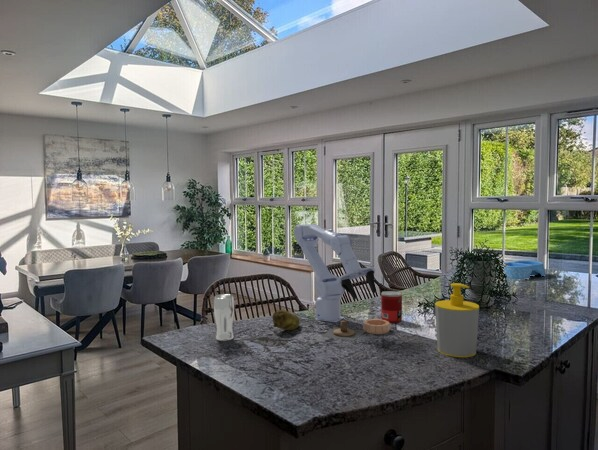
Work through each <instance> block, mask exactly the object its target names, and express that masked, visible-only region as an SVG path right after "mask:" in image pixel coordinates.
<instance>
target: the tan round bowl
mask: <svg viewBox="0 0 598 450" xmlns="http://www.w3.org/2000/svg"><path fill="white" fill-rule="evenodd" d="M390 324H391V323H389V322H388V321H386V320H382V318H369V319H365V320H364V321H363V328H362V329H363V331H366V332H365V333H369V334H375V335H381V334H382V335H383V334H387V333H389V332H390V331H391V330H390V329H391V328H390V327H391V325H390Z"/></svg>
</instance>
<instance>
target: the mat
mask: <svg viewBox="0 0 598 450" xmlns="http://www.w3.org/2000/svg"><path fill="white" fill-rule="evenodd" d="M339 328H340V327H339V326H335V327H333V328H331V329H329V331H327V332H326V333H324V334H322V335H321V337H323V338H324V337H325V338H331V339H332V338H333V339H337V340H346V341H351V342H354V341H355V340H357V339H358V338H360V337H361V336H362V335H363V334H365V333H367V332H366V331H364V330H362V329H353V328H351V329H352V330H354V331H355V335H353V336H349V337H341V336H336V335H334V334H333V331H334V330H335V329H339Z"/></svg>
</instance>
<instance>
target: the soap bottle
mask: <svg viewBox="0 0 598 450" xmlns="http://www.w3.org/2000/svg"><path fill="white" fill-rule="evenodd" d="M450 287H452V293H451V294H450V296H449V297H450V299H444V300H438V301H436V302H435V304H434V307H435V309H434V310H435V312H434V313H435V324H436V325H435V328H436V343H437V344H436V346H437V351H438V352H439V353H441V354H443V355H446V356H448V357H454V358H470V357H474V356H476V355H477V345H478V343H477V342H478V329H479V328H478V327H479V316H480V314H479V313H480V305H479V304H477V303H475V302H471V301H466V300H464V295H463V294H462V291H461V289H462V288H464V289H470V286H468V285H466V284H463V283H458V282H457V283H456V282H452V283H450Z"/></svg>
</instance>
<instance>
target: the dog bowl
mask: <svg viewBox="0 0 598 450" xmlns="http://www.w3.org/2000/svg"><path fill="white" fill-rule="evenodd" d="M503 263H504V264H508V266H506V267H505V268H504V273H505V274H506V275H507V279H506V280H508V279H524V278H530V279H531V277H530V275H538V274H539V273H540V274H539V275H540V276H541V277H542V276H544V275H546V276H547V273H546V270H545V265H544V262H541V261H536V260H514V261H507V262H503ZM539 275H538V276H539Z"/></svg>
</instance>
